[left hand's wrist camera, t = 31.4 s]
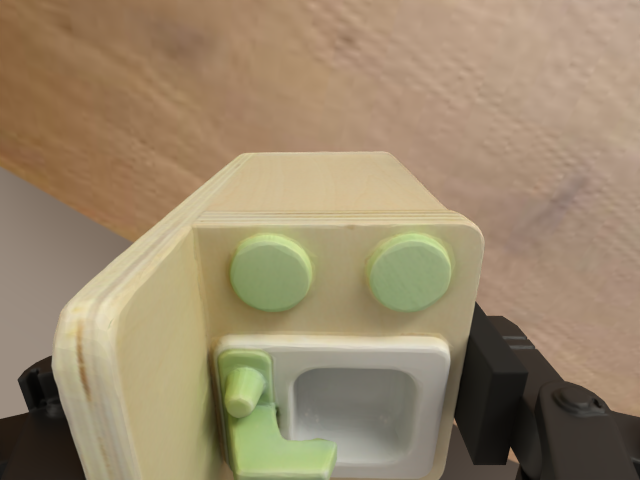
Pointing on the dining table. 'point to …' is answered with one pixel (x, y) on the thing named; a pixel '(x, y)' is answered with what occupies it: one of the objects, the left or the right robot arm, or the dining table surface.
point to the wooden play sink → (277, 329)
